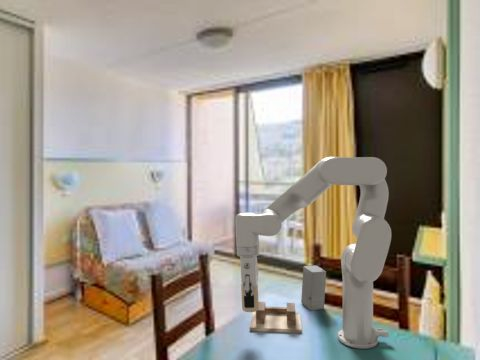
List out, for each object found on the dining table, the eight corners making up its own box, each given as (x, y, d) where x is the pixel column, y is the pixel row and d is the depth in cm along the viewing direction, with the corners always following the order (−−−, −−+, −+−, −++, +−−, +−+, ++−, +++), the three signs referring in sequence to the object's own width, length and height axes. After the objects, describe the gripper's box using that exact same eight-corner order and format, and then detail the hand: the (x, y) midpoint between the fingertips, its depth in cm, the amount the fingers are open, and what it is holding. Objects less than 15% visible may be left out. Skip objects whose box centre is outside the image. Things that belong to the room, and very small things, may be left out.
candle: (257, 312, 117) (256, 282, 117) (240, 312, 119) (239, 282, 118) (259, 306, 123) (258, 277, 122) (243, 305, 124) (242, 276, 123)
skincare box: (300, 303, 150) (300, 265, 149) (316, 301, 152) (316, 264, 151) (310, 311, 142) (310, 271, 141) (326, 309, 144) (326, 269, 143)
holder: (299, 315, 138) (299, 299, 138) (301, 333, 124) (301, 315, 124) (252, 314, 140) (252, 298, 140) (249, 330, 126) (249, 313, 126)
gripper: (257, 256, 111) (259, 314, 112) (260, 244, 128) (262, 294, 129) (233, 257, 112) (235, 314, 113) (239, 244, 129) (242, 294, 130)
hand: (250, 303), depth 121 cm, fingers closed on candle, 5 cm apart
